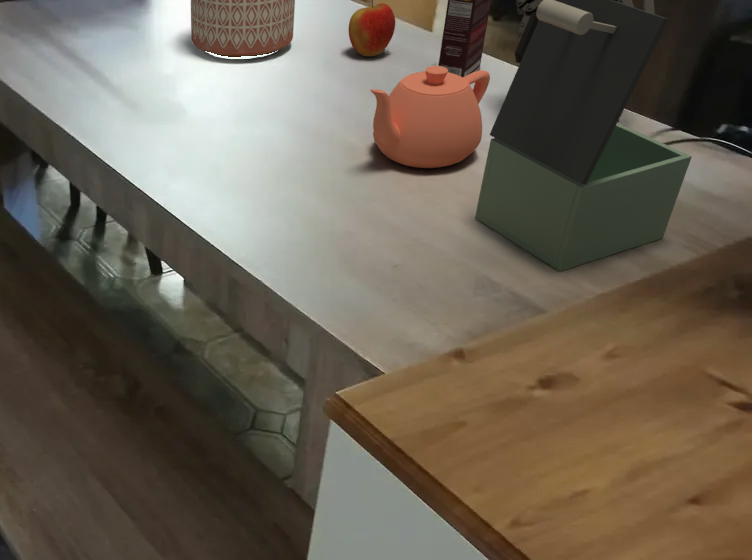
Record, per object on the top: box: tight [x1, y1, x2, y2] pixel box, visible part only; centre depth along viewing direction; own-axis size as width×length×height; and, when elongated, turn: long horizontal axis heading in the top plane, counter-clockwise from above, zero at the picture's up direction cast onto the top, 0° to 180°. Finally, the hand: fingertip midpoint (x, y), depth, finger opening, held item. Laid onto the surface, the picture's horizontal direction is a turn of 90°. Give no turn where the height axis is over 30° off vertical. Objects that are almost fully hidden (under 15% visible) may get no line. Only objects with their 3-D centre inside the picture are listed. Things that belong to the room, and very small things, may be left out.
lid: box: [489, 0, 670, 184], centre depth 103 cm, size 18×16×7 cm
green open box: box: [474, 122, 692, 272], centre depth 116 cm, size 17×16×11 cm
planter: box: [190, 0, 296, 57], centre depth 171 cm, size 19×19×15 cm
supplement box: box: [437, 0, 492, 77], centre depth 154 cm, size 9×5×16 cm, turn 144°
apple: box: [348, 0, 396, 57], centre depth 166 cm, size 8×8×10 cm
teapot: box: [369, 65, 491, 169], centre depth 133 cm, size 22×15×12 cm
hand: (561, 66), depth 136 cm, fingers open, 12 cm apart
